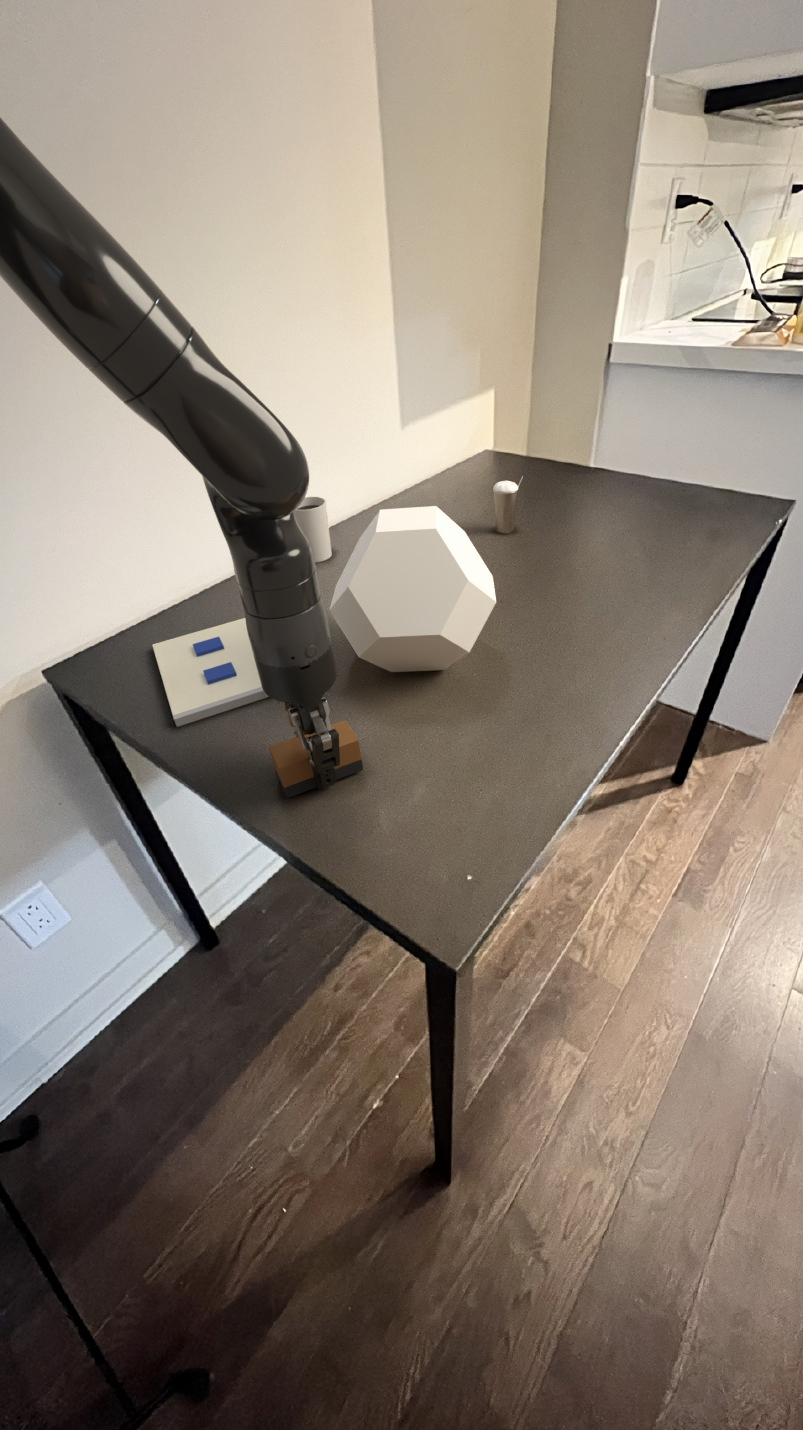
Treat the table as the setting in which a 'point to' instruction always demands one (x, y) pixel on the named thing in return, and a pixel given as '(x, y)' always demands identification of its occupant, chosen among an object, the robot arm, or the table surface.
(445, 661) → the geometric form
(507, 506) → the milkshake
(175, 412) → the robot arm
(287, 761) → the eraser
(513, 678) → the table surface
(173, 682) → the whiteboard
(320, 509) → the white cup
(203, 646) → the blue flat block
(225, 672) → the blue rectangular block
